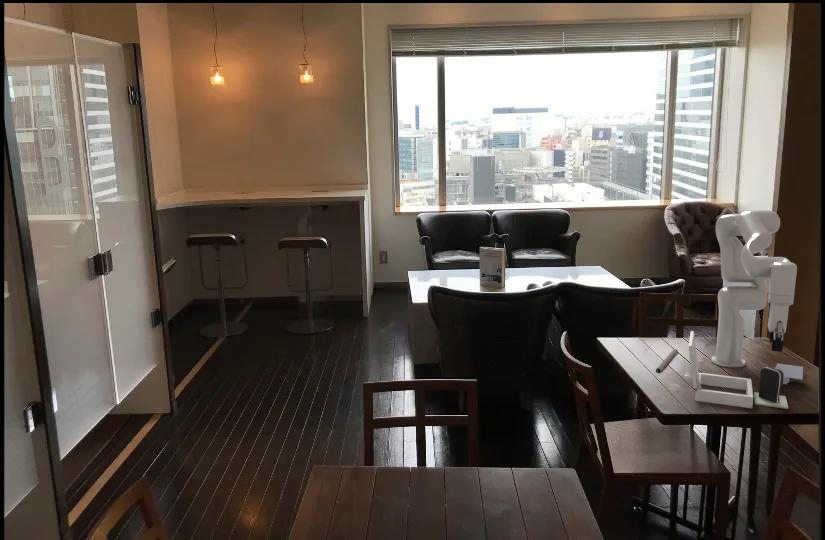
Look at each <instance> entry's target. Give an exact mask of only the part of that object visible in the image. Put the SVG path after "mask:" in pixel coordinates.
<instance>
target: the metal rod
mask: <svg viewBox="0 0 825 540" xmlns="http://www.w3.org/2000/svg"><path fill="white" fill-rule="evenodd" d="M678 351H679V350H678V349H677V348H673V349H672V350H671V351H670V353H669V354H668V355H667V356H666V357H665V358H664V360H663V361H662V362H661V363H660V364H659V365H658V366H657V368H656V369H655V372H656V373H658V372H659V373H661V372H662V371H663V370H664V369H665V368H666V366H667V365H668V364H669V363H671V361H672V360H673V358H675V356H676V355H677V354H678Z"/></svg>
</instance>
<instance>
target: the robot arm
mask: <svg viewBox="0 0 825 540" xmlns="http://www.w3.org/2000/svg"><path fill="white" fill-rule="evenodd" d="M780 226H781V218H780V216H779V214H777V212H775V211H773V210H745V211H743V212H740V213H730V214H724V215H721V216H719V217H718V218H717V220H716V222H715V235H716V238H717V241H718V244H719V249H720V271H721V272H720V273H721V278H722V280H723V281H724V282H726V283H732V284H733V283H734V284H735V283H736V284H737V283H738V284H748V283H749V286H747V285H745V286H744V285H732V286H724V287H722V288H720V289H719V291H718V293H717V302H718V303H717V304H718V321H717V322H718V324H717V335H716V348H715V355H712V356H711V359H710V361H711V362H712V363H713V364H714V365H716V366H719V367H724V368H732V369H733V368H735V369H736V368H742V367H744V366H746V363H747V362H746V360H745V359H744V358H743V348H744V338H745V325H746V324H745V323H746V322H745V319H744V317H743V316H742V314H741V313H740V312H742V311H761V310H764V309H765V307H766V306H767V302H768V303H769V304H770V306H769V312H768V321H767V329H768V331H769V342H770V343H771V348H770V349H771V351H772V352H780V353H782V352H783V348H784V334H785V333H786V331H787V325H788V317H789V308H790V306H792V305H793V304H794V300H795V289H796V282H797V281H796V280H797V272H798V267H797V264H796V263H794V262H792V261H790V259H788V258H787V257H783V256H755V254H757V253H760V252H762V251H764V250H767V249H768V248H769V247H770V246H771V244H772V241H773V236H772V234H775V233H777V232H778V231H779V229H780V228H781V227H780ZM737 236H741V237H742V238H743V239H744V242H745V244H743V243H742V241H741V240H740V239H739V238H738V237H737ZM767 279H769V285H768V286H769V287H767ZM767 289H768V291H767ZM767 292H768V293H767ZM767 294H768V295H767Z"/></svg>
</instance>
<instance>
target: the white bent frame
mask: <svg viewBox="0 0 825 540" xmlns="http://www.w3.org/2000/svg"><path fill="white" fill-rule="evenodd" d="M688 341H689V342H688V353H689V359H690V367H691V376H692V383H693V391H694V392H695V393H694V394H695V396H694V401H695V402H703V403H710V404H716V405H718V404H719V405H724V406H731V407H732V406H733V407H738V408H739V407H740V408H748V409H753V405H754V402H753V401H754V391H753V385H752V378H747V377H740V376H739V377H737V376H730V375H729V376H728V375H721V374H715V373H714V374H713V373H706V372H699V364H698V357H697V355H698V354H697V348H696V341H695V331H694V330H690V335H689V339H688ZM702 385H705V386H710V387H719V388H726V389H728V388H729V389H734V390H743V391H745V393H746V394H740V393H733V392H725V391H717V390H711V389H704V388H703V389H702Z"/></svg>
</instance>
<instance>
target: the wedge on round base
mask: <svg viewBox="0 0 825 540" xmlns="http://www.w3.org/2000/svg"><path fill="white" fill-rule="evenodd" d="M775 368H776V369H779V370H781V371H782V372H783V374H784V379H783V384H785V385H788V384H789V383H790V379H796V380H803V377H804V366H800V365H791V364H785V363H776V365H775ZM787 383H788V384H787Z"/></svg>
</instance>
